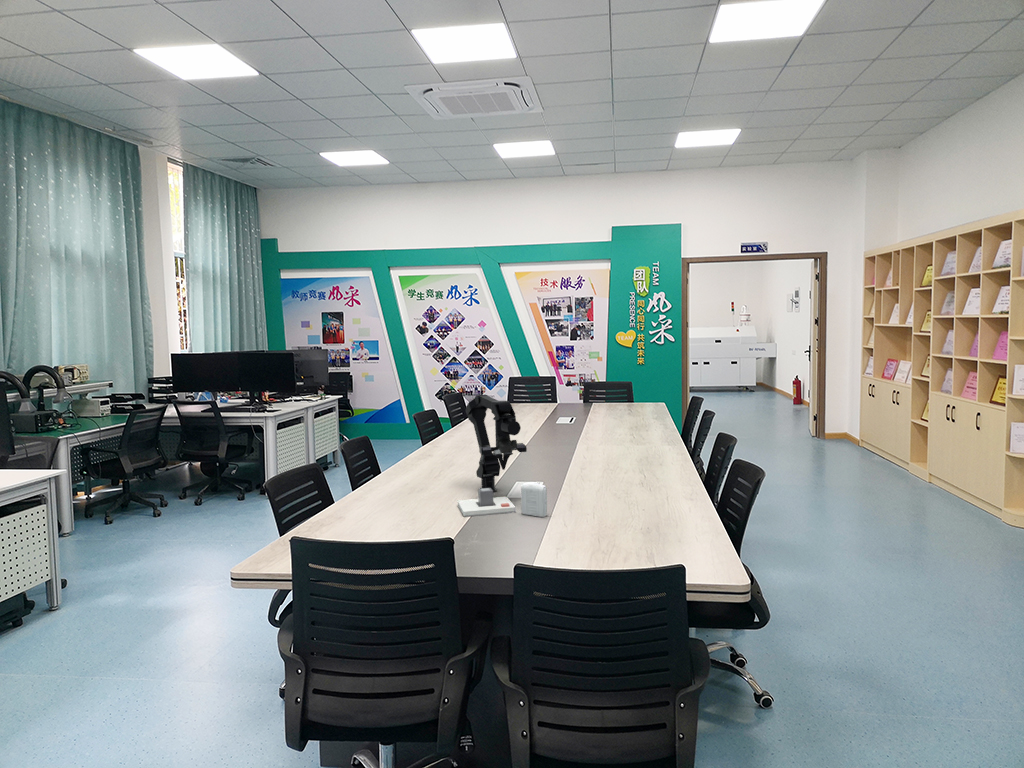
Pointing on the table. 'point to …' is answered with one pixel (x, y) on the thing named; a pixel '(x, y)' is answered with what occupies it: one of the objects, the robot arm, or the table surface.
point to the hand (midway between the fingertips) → (503, 469)
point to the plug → (485, 497)
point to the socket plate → (486, 507)
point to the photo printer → (534, 499)
